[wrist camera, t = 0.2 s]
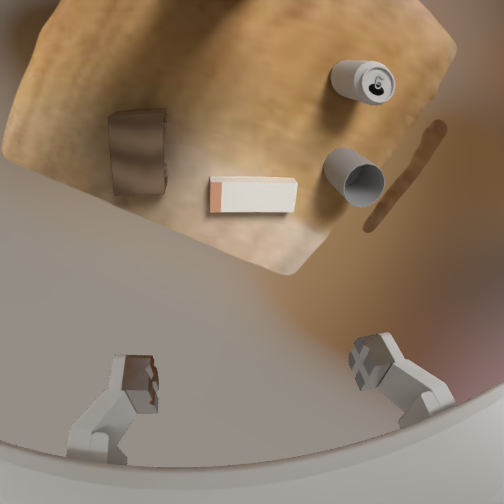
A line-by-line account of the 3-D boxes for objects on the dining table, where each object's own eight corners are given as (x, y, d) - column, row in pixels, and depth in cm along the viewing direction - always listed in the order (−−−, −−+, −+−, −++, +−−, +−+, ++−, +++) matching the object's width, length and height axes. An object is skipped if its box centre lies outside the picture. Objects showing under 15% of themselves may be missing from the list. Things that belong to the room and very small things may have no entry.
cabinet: (114, 112, 46) (105, 117, 41) (166, 108, 47) (162, 112, 43) (119, 184, 53) (111, 195, 49) (167, 182, 55) (164, 193, 50)
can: (324, 91, 49) (353, 99, 39) (333, 54, 45) (364, 54, 35) (359, 101, 51) (393, 113, 41) (368, 66, 47) (403, 71, 37)
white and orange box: (210, 176, 56) (210, 182, 53) (293, 177, 58) (298, 183, 56) (209, 205, 59) (210, 212, 57) (289, 205, 62) (293, 212, 59)
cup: (367, 162, 59) (392, 181, 50) (344, 192, 62) (365, 214, 54) (340, 139, 55) (363, 154, 47) (315, 171, 58) (334, 191, 50)
